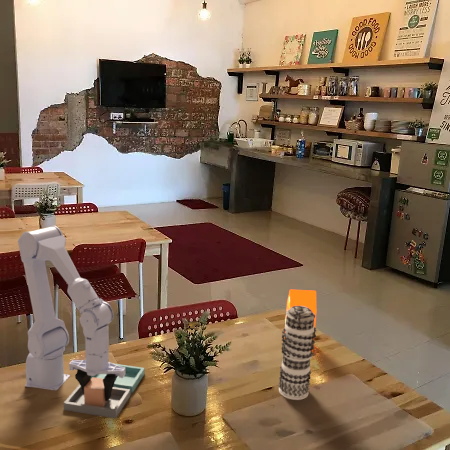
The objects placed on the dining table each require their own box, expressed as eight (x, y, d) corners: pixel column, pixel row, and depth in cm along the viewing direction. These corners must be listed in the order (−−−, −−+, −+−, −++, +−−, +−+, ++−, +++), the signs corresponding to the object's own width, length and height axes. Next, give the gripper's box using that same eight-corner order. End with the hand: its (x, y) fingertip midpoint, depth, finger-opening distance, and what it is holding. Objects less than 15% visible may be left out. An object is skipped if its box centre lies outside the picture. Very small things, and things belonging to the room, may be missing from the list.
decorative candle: (317, 395, 140) (325, 312, 134) (290, 404, 136) (297, 318, 130) (297, 379, 148) (304, 300, 142) (271, 387, 144) (277, 305, 138)
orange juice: (312, 352, 165) (318, 295, 160) (285, 350, 165) (290, 293, 160) (309, 341, 173) (314, 286, 168) (283, 339, 173) (288, 285, 168)
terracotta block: (84, 404, 129) (84, 387, 128) (92, 394, 134) (92, 377, 133) (102, 407, 129) (102, 390, 127) (110, 396, 133) (110, 379, 132)
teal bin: (84, 387, 139) (83, 379, 138) (99, 369, 149) (99, 361, 148) (132, 394, 137) (132, 386, 136) (144, 375, 146) (144, 367, 146)
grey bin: (63, 411, 128) (63, 402, 127) (81, 390, 138) (81, 382, 137) (115, 420, 126) (115, 411, 125) (130, 397, 135) (130, 389, 135)
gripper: (62, 353, 125) (64, 401, 128) (118, 361, 123) (118, 410, 126) (76, 340, 132) (77, 386, 135) (128, 348, 130) (128, 394, 133)
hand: (97, 397), depth 131 cm, fingers closed on terracotta block, 5 cm apart
